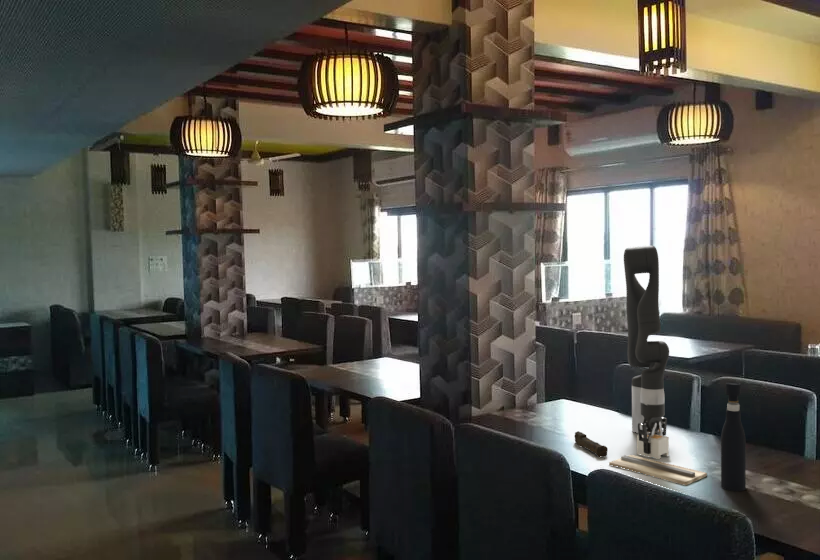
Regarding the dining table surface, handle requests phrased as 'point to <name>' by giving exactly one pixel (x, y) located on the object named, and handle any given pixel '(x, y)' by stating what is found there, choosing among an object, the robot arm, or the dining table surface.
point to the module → (655, 446)
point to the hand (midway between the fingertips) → (652, 451)
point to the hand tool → (590, 444)
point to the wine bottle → (733, 443)
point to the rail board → (659, 469)
